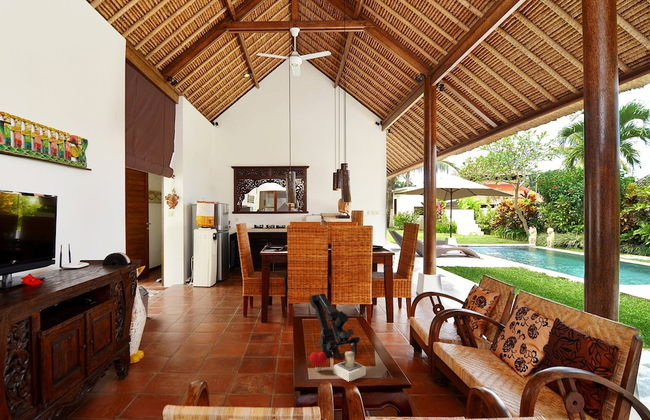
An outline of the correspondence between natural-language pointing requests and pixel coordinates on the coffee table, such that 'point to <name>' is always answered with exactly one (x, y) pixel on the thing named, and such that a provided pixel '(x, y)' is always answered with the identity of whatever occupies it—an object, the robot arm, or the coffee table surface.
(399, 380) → the coffee table surface
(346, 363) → the beech pin
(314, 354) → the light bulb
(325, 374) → the coffee table surface
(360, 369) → the socket block
